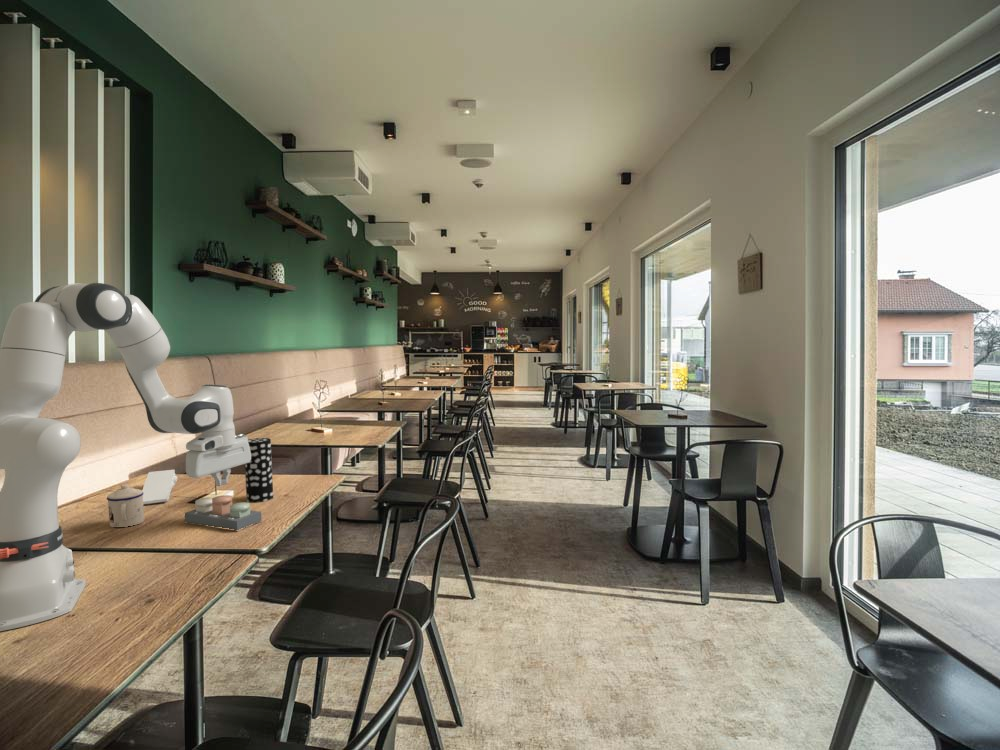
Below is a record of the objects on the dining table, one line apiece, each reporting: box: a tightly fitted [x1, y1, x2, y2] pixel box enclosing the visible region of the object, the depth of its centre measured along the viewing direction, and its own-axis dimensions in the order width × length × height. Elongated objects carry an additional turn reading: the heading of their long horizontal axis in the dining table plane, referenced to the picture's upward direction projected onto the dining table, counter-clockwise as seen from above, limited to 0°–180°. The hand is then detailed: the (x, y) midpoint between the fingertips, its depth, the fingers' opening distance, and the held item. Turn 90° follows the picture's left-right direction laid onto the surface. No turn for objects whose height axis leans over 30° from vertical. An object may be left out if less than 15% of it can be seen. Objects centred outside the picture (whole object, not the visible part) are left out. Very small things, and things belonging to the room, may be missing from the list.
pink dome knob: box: [211, 494, 233, 515], centre depth 168 cm, size 5×5×5 cm
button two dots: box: [230, 501, 251, 518], centre depth 166 cm, size 5×5×5 cm
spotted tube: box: [244, 437, 274, 503], centre depth 191 cm, size 8×8×20 cm
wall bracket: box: [141, 469, 178, 505], centre depth 199 cm, size 10×7×28 cm
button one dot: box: [194, 497, 213, 513], centre depth 171 cm, size 5×5×5 cm
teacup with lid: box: [106, 483, 145, 528], centre depth 167 cm, size 12×9×12 cm
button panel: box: [184, 508, 262, 530], centre depth 169 cm, size 21×9×3 cm, turn 67°
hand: (221, 484), depth 168 cm, fingers closed
